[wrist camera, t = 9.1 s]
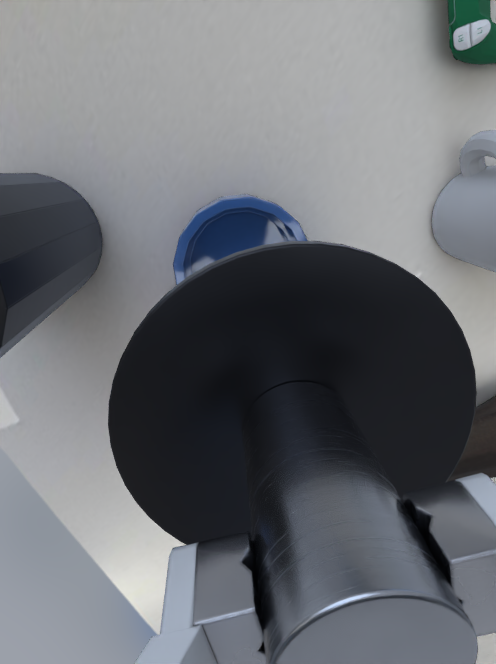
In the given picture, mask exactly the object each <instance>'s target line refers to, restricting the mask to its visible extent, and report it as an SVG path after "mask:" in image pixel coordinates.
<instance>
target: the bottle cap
mask: <svg viewBox="0 0 496 664" xmlns="http://www.w3.org/2000/svg"><path fill="white" fill-rule="evenodd" d="M288 241H308V240H307V238H306V236H305V234H304V232H303V230H302V228H301V226H300V224H299V223H298V222H297V221H296V220H295V219H294V218H293V217H292V216H290V215H289V214H288V213H287V212H286V211H285V210H284V209H282V208H281V207H280V206H279V205H277V204H275V203H273V202H271V201H268V200H265V199H262V198H259V197H255V196H252V195H249V194H240V195H231V196H222V197H219V198H218V199H216V200H214V201H212V202H211V203H209V204H207V205H206V206H204V207H202V208H200V209H199V210H198V211H197V212H196V213H195V215H194V216H193V217H192V219H191V220H190V221H189V223H188V224H187V225H186V227H185V228H184V229H183V231H182V233H181V235H180V237H179V241H178V245H177V249H176V253H175V258H174V262H173V267H174V273H175V279H176V285H178V284H179V283H180V282H182V281H183V280H184V279H186V278H187V277H188V276H190V275H192V274H193V273H195V272H197V271H198V270H200V269H202V268H203V267H205V266H207V265H208V264H210V263H212V262H215V261H217V260H219V259H222V258H224V257H226V256H229V255H231V254H233V253H236V252H239V251H243V250H246V249H250V248H254V247H257V246H261V245H266V244H274V243H281V242H288Z"/></svg>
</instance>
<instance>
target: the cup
mask: <svg viewBox="0 0 496 664" xmlns="http://www.w3.org/2000/svg"><path fill="white" fill-rule="evenodd" d="M484 156H490V157H494V158H496V130H489V131H482V132H479V133H477V134H475V135H473V136H472V137H471V138H470V139H469V141H468V142H467V143H466V144H465V146H464V147H463V148H462V149H461V153H460V158H459V160H460V169H461V172H462V173H461V174H459V175H458V176H456V177H455V178H453V179H452V180H451V181H450V182H449V183H448V184H447V185H446V187H445V188H444V189H443V190H442V192H441V193H440V195H439V197H438V199H437V201H436V203H435V207H434V210H433V213H432V229H433V234H434V237H435V239H436V241H437V243H438V245H439V246H440V247H441V248H442V249H443V250H444V251H445V252H446V253H447V254H449V255H451V256H453V257H455V258H457V259H459V260H462V261H465V262H468V263H471V264H473V265H476V266H479V267H482V268H485V269H488V270H491V271H493V272H496V166H486V165H485V158H484Z"/></svg>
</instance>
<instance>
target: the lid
mask: <svg viewBox="0 0 496 664" xmlns="http://www.w3.org/2000/svg"><path fill="white" fill-rule="evenodd" d="M475 405H476V379H475V369H474V365H473V361H472V356H471V352H470V349H469V346H468V344H467V341H466V339H465V336H464V334H463V331H462V329H461V328H460V326H459V324H458V323H457V321H456V319H455V318H454V316H453V314H452V313H451V311H450V310H449V308H448V307H447V306H446V305H445V304H444V303H443V301H442V300H441V299H440V298H439V297H438V295H437V294H436V293H435V292H434V291H432V290H431V289H430V288H429V287H428V286H427V285H426V284H424V283H423V282H422V281H421V280H420V279H419V278H417V277H416V276H414V275H413V274H411V273H409V272H408V271H406V270H405V269H403V268H402V267H400V266H398V265H397V264H395V263H393V262H391V261H389V260H386V259H384V258H382V257H379V256H377V255H375V254H373V253H370V252H368V251H364V250H361V249H357V248H354V247H350V246H346V245H343V244H335V243H327V242H320V241H288V242H281V243H274V244H266V245H261V246H257V247H254V248H250V249H246V250H243V251H239V252H236V253H233V254H231V255H229V256H226V257H224V258H222V259H219V260H217V261H215V262H212V263H210V264H208V265H207V266H205V267H203V268H202V269H200V270H198V271H197V272H195V273H193V274H192V275H190V276H188V277H187V278H186V279H184V280H183V281H182V282H180V283H179V284H178V285H177V286H175V287H174V288H173V289H172V290H170V291H169V292H168V293H167V294H166V295H165V296H164V297H163V298H162V299H161V300H160V301H159V302H158V303H157V304H156V305H155V306H154V307H153V308H152V309H151V310H150V311H149V313H148V314H147V315H146V317H145V318H144V319H143V321H142V322H141V324H140V325H139V326H138V328H137V329H136V330H135V332H134V334H133V336H132V338H131V340H130V342H129V343H128V345H127V347H126V349H125V351H124V353H123V355H122V357H121V359H120V362H119V365H118V368H117V371H116V373H115V376H114V379H113V383H112V389H111V394H110V399H109V414H108V428H109V436H110V443H111V448H112V452H113V455H114V459H115V462H116V466H117V468H118V471H119V473H120V475H121V477H122V479H123V481H124V484H125V486H126V487H127V489H128V490H129V492H130V493H131V495H132V496H133V498H134V500H135V501H136V503H137V504H138V505H139V506H140V507H141V508H142V509H143V511H144V512H145V513H146V514H147V515H148V516H149V517H150V518H151V519H152V520H153V521H154V522H155V523H156V524H158V525H159V526H160V527H161V528H162V529H163V530H164V531H166V532H167V533H169V534H170V535H172V536H173V537H175V538H176V539H178V540H179V541H181V542H182V543H184V544H186V545H189V544H194V543H198V542H200V541H205V540H209V539H214V538H219V537H223V536H228V535H233V534H237V533H242V532H246V531H249V532H250V533H251V536H252V539H253V542H254V551H255V560H256V569H257V582H258V592H259V598H260V607H261V617H262V626H263V639H264V648H265V658H266V664H475V663H476V659H477V652H478V645H477V637H476V633H475V629H474V626H473V624H472V623H471V621H470V619H469V617H468V615H467V614H466V612H465V610H464V608H463V607H462V605H461V603H460V601H459V600H458V598H457V596H456V595H455V593H454V591H453V589H452V588H451V586H450V584H449V582H448V581H447V579H446V577H445V575H444V574H443V572H442V570H441V568H440V567H439V565H438V563H437V561H436V560H435V558H434V556H433V554H432V553H431V551H430V549H429V547H428V546H427V544H426V542H425V540H424V539H423V537H422V535H421V533H420V532H419V530H418V528H417V526H416V525H415V523H414V521H413V519H412V518H411V516H410V514H409V513H408V511H407V509H406V507H405V506H404V503H403V495H404V492H408V491H412V490H416V489H420V488H424V487H428V486H432V485H436V484H440V483H444V482H447V480H448V479H449V477H450V476H451V474H452V473H453V471H454V470H455V468H456V466H457V464H458V462H459V460H460V458H461V456H462V454H463V452H464V449H465V447H466V444H467V441H468V438H469V436H470V433H471V428H472V424H473V419H474V415H475Z"/></svg>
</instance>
